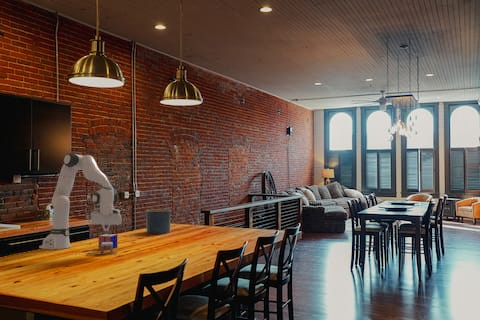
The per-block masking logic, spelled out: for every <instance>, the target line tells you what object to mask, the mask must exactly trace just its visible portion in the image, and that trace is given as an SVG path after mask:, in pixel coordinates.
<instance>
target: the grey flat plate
mask: <svg viewBox="0 0 480 320" xmlns="http://www.w3.org/2000/svg"><path fill="white" fill-rule="evenodd" d="M117 253H118V252H117V251H114V252H113V253H112V254H110V251H104V253H103V255H101V251H100V252H99V251H98V252H92V254H89V252H86V254H85V257H89V256H92V257H94V256H97V257H98V256H108V255H111V256H115V255H117Z"/></svg>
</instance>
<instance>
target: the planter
mask: <svg viewBox="0 0 480 320" xmlns="http://www.w3.org/2000/svg"><path fill="white" fill-rule="evenodd" d="M171 212H172V210H171V209H167V208H166V209H165V208H164V209H163V208H157V209H156V208H155V209H147V210H145V223H146V224H145V225H146V226H145V227H146V230H145V231H146V234H148V235H164V234H170V233H171V222H172V221H171V215H172V213H171Z"/></svg>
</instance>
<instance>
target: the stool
mask: <svg viewBox="0 0 480 320" xmlns="http://www.w3.org/2000/svg"><path fill="white" fill-rule="evenodd" d="M104 246H110V250H109V252H110V254H109V255H112V254H113V253H114V249H113V242H102V243H101V249H100V250H101V251H100V252H101V253H100V255H101V256H104V255H103V254H104V253H105V250H104Z"/></svg>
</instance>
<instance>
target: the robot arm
mask: <svg viewBox="0 0 480 320" xmlns="http://www.w3.org/2000/svg"><path fill="white" fill-rule="evenodd" d="M78 171H79V172H82V174H83V176H84V177H85V180H86V179H87V181H90V182H94V183H97V184H100V185H101V186H102V187H101V189H100V190H98V191H94V193H93V194H92V196H91V201H92V203H93V204H94V205H95V206H99V210H93V211H91V212H90V217H91V218H90V224H91V225H101V226H102V228H103V232H109V229H110V227H111V225H117V226H118V225H122V222H123V221H122V214H121V210H120V209H118V208H115V207H114V206H115V205H117V203H118V202H119V200H120V196H119V194H118V192H117V191H116V190H115V188H114V187H113V185H112V183H111V181H110V180H109V178H108V177H107V175H106V174H104V173H103V171H102V170H101V169H100V167H99V166H98V164H97V161H96V160H95V158H94V156H92V155H90V154H85V155H82V154H77V153H72V152H68V153H66V154H65V155H64V157H63V165H62V167H61V169H60V172H59V175H58V179H57V182H56V187H55V189H54V193H53V196H52V198H51V205H52V206H53V209H52V210H53V211H52V228H51V229H50V234H48V235H47V236H45V238H43V240H42V245H39V247H38V248H39V249H44V250H45V249H46V250H63V249H68V248H72V245H71V243H70V228H69V224H70V223H69V218H70V217H69V216H70V204H71V201H70V195H71V193H72V190H73V188H74V182H75V180H76V179H75V178H76V176H77V175H76V174H77V172H78ZM105 225H106V226H107V228H105Z"/></svg>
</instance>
